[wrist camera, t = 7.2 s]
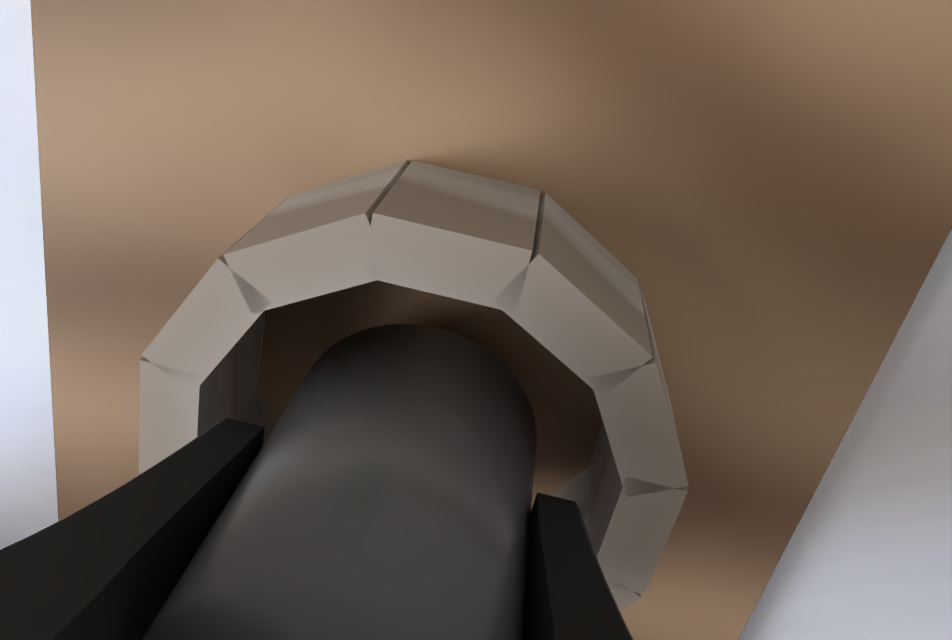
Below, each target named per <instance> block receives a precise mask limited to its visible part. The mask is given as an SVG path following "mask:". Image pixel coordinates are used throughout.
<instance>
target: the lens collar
mask: <svg viewBox="0 0 952 640" xmlns="http://www.w3.org/2000/svg"><path fill="white" fill-rule="evenodd" d="M31 18H32V36H33V55H34V73H35V92H36V110H37V129H38V148H39V166H40V185H41V203H42V222H43V240H44V259H45V277H46V296H47V315H48V333H49V352H50V370H51V389H52V407H53V426H54V444H55V463H56V482H57V500H58V519H59V521H61V520H62V519H64V518H66V517H68V516H70V515H71V514H73V513H75V512H77V511H78V510H80V509H82V508H84V507H86V506H87V505H89V504H91V503H93V502H94V501H96V500H98V499H100V498H102V497H103V496H105V495H107V494H109V493H110V492H112V491H114V490H115V489H117V488H119V487H120V486H122V485H124V484H125V483H127V482H128V481H130V480H132V479H133V478H135V477H136V476H138V475H140V474H141V473H143V472H144V471H146V470H148V469H149V468H151V467H152V466H154V465H156V464H157V463H159V462H160V461H162V460H163V459H165V458H166V457H168V456H169V455H171V454H173V453H174V452H176V451H177V450H179V449H180V448H182V447H183V446H185V445H186V444H188V443H189V442H191V441H192V440H194V439H195V438H197V437H198V436H200V435H201V434H203V433H204V432H206V431H207V430H209V429H210V428H212V427H213V426H215V425H216V424H218V423H219V422H221V421H223V420H225V419H226V418H229V419H234V420H238V421H242V422H246V423H250V424H254V425H259V426H263V427H265V429H264V439H263V444H264V443H265V441H266V440H267V438H268V436H269V435H270V433H271V431H272V430H273V428H274V427H275V425H276V423H277V422H278V420H279V419H280V417H281V415H282V414H283V412H284V411H285V409H286V407H287V406H288V404H289V403H290V401H291V399H292V398H293V396H294V395H295V393H296V391H297V390H298V388H299V387H300V385H301V383H302V382H303V380H304V379H305V377H306V375H307V374H308V372H309V370H310V369H311V367H312V366H313V365H314V364H315V362H316V361H317V360H318V359H319V357H320V356H321V355H322V354H324V353H325V352H326V351H327V350H328V349H329V348H330V347H332V346H333V345H334V344H336V343H337V342H339V341H340V340H342V339H344V338H346V337H348V336H350V335H352V334H354V333H356V332H359V331H362V330H365V329H368V328H372V327H377V326H382V325H388V324H420V325H426V326H432V327H437V328H440V329H444V330H447V331H450V332H453V333H456V334H458V335H461V336H463V337H465V338H468V339H470V340H471V341H473V342H475V343H477V344H478V345H480V346H482V347H483V348H485V349H486V350H487V351H489V352H490V353H491V354H493V355H494V356H495V357H497V358H498V359H499V360H500V361H501V362H502V363H503V364H504V365H505V366H506V367H507V368H508V369H509V370H510V371H511V373H512V374H513V375H514V376H515V378H516V379H517V380H518V382H519V383H520V385H521V387H522V388H523V390H524V391H525V393H526V395H527V398H528V400H529V402H530V405H531V407H532V411H533V414H534V418H535V424H536V433H537V437H536V455H535V468H534V482H533V496H532V507H533V504H534V501H535V497H536V494H537V492H538V493H542V494H546V495H550V496H554V497H558V498H563V499H567V500H571V501H575V502H576V504H577V505H578V507H579V508H580V511H581V514H582V518H583V521H584V524H585V527H586V530H587V532H588V535H589V538H590V541H591V544H592V546H593V549H594V552H595V554H596V557H597V559H598V562H599V564H600V567H601V569H602V572H603V574H604V577H605V579H606V582H607V584H608V586H609V588H610V591H611V593H612V595H613V597H614V600H615V602H616V604H617V606H618V608H619V611H620V613H621V615H622V617H623V620H624V622H625V624H626V626H627V628H628V630H629V632H630V634H631V636H632V638H633V640H738V639H739V637H740V635H741V633H742V631H743V629H744V627H745V625H746V623H747V621H748V619H749V618H750V616H751V614H752V612H753V610H754V608H755V606H756V604H757V602H758V600H759V598H760V596H761V594H762V592H763V591H764V589H765V587H766V585H767V583H768V581H769V579H770V577H771V575H772V573H773V571H774V569H775V567H776V565H777V564H778V562H779V560H780V558H781V556H782V554H783V552H784V550H785V548H786V546H787V544H788V542H789V540H790V538H791V537H792V535H793V533H794V531H795V529H796V527H797V525H798V523H799V521H800V519H801V517H802V515H803V513H804V511H805V510H806V508H807V506H808V504H809V502H810V500H811V498H812V496H813V494H814V492H815V490H816V488H817V486H818V484H819V483H820V481H821V479H822V477H823V475H824V473H825V471H826V469H827V467H828V465H829V463H830V461H831V459H832V457H833V456H834V454H835V452H836V450H837V448H838V446H839V444H840V442H841V440H842V438H843V436H844V434H845V432H846V431H847V429H848V427H849V425H850V423H851V421H852V419H853V417H854V415H855V413H856V411H857V409H858V407H859V405H860V404H861V402H862V400H863V398H864V396H865V394H866V392H867V390H868V388H869V386H870V384H871V382H872V380H873V378H874V377H875V375H876V373H877V371H878V369H879V367H880V365H881V363H882V361H883V359H884V357H885V355H886V353H887V351H888V350H889V348H890V346H891V344H892V342H893V340H894V338H895V336H896V334H897V332H898V330H899V328H900V326H901V324H902V323H903V321H904V319H905V317H906V315H907V313H908V311H909V309H910V307H911V305H912V303H913V301H914V299H915V297H916V296H917V294H918V292H919V290H920V288H921V286H922V284H923V282H924V280H925V278H926V276H927V274H928V272H929V270H930V269H931V267H932V265H933V263H934V261H935V259H936V257H937V255H938V253H939V251H940V249H941V247H942V245H943V243H944V242H945V240H946V238H947V236H948V234H949V232H950V230H951V228H952V0H31Z"/></svg>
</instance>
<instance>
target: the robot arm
mask: <svg viewBox="0 0 952 640" xmlns="http://www.w3.org/2000/svg"><path fill="white" fill-rule="evenodd" d="M264 429H265V427H263V426H259V425H254V424H250V423H246V422H242V421H238V420H234V419H229V418H226V419H225V420H223V421H221V422H219V423H218V424H216V425H215V426H213V427H212V428H210V429H209V430H207V431H206V432H204V433H203V434H201V435H200V436H198V437H197V438H195V439H194V440H192V441H191V442H189V443H188V444H186V445H185V446H183V447H182V448H180V449H179V450H177V451H176V452H174V453H173V454H171V455H169V456H168V457H166V458H165V459H163V460H162V461H160V462H159V463H157V464H156V465H154V466H152V467H151V468H149V469H148V470H146V471H144V472H143V473H141V474H140V475H138V476H136V477H135V478H133V479H132V480H130V481H128V482H127V483H125V484H124V485H122V486H120V487H119V488H117V489H115V490H114V491H112V492H110V493H109V494H107V495H105V496H103V497H102V498H100V499H98V500H96V501H94V502H93V503H91V504H89V505H87V506H86V507H84V508H82V509H80V510H78V511H77V512H75V513H73V514H71V515H70V516H68V517H66V518H64V519H62V520H61V521H59V522H57V523H55V524H53V525H51V526H49V527H47V528H45V529H43V530H41V531H39V532H37V533H35V534H33V535H31V536H29V537H27V538H25V539H23V540H21V541H19V542H16V543H14V544H12V545H10V546H8V547H6V548H3V549H1V550H0V640H142V639H143V637H144V635H145V634H146V632H147V631H148V629H149V627H150V626H151V624H152V623H153V621H154V619H155V618H156V616H157V614H158V613H159V611H160V610H161V608H162V606H163V605H164V603H165V602H166V600H167V598H168V597H169V595H170V594H171V592H172V590H173V589H174V587H175V586H176V584H177V582H178V581H179V579H180V578H181V576H182V574H183V573H184V571H185V570H186V568H187V566H188V565H189V563H190V562H191V560H192V558H193V557H194V555H195V553H196V552H197V550H198V549H199V547H200V545H201V544H202V542H203V541H204V539H205V537H206V536H207V534H208V533H209V531H210V529H211V528H212V526H213V525H214V523H215V521H216V520H217V518H218V517H219V515H220V513H221V512H222V510H223V509H224V507H225V505H226V504H227V502H228V501H229V499H230V497H231V496H232V494H233V492H234V491H235V489H236V488H237V486H238V484H239V483H240V481H241V480H242V478H243V476H244V475H245V473H246V472H247V470H248V468H249V467H250V465H251V464H252V462H253V460H254V459H255V457H256V456H257V454H258V452H259V451H260V449H261V448H262V446H263V439H264ZM522 640H633V638H632V636H631V634H630V632H629V630H628V628H627V626H626V624H625V622H624V620H623V617H622V615H621V613H620V611H619V608H618V606H617V604H616V602H615V600H614V597H613V595H612V593H611V591H610V588H609V586H608V584H607V582H606V579H605V577H604V574H603V572H602V569H601V567H600V564H599V562H598V559H597V557H596V554H595V552H594V549H593V546H592V544H591V541H590V538H589V535H588V532H587V530H586V527H585V524H584V521H583V518H582V514H581V511H580V508H579V507H578V505H577V504H576V502H575V501H571V500H567V499H563V498H558V497H554V496H550V495H546V494H542V493H538V492H537V494H536V497H535V501H534V504H533V507H532V510H531V518H530V532H529V545H528V559H527V575H526V591H525V606H524V620H523V633H522Z"/></svg>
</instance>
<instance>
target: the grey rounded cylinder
mask: <svg viewBox="0 0 952 640" xmlns="http://www.w3.org/2000/svg"><path fill="white" fill-rule="evenodd" d="M536 437H537V433H536V424H535V418H534V414H533V411H532V407H531V405H530V402H529V400H528V398H527V395H526V393H525V391H524V390H523V388H522V387H521V385H520V383H519V382H518V380H517V379H516V378H515V376H514V375H513V374H512V373H511V371H510V370H509V369H508V368H507V367H506V366H505V365H504V364H503V363H502V362H501V361H500V360H499V359H498V358H497V357H495V356H494V355H493V354H491V353H490V352H489V351H487V350H486V349H485V348H483V347H482V346H480V345H478V344H477V343H475V342H473V341H471V340H470V339H468V338H465V337H463V336H461V335H458V334H456V333H453V332H450V331H447V330H444V329H440V328H437V327H432V326H426V325H420V324H388V325H382V326H377V327H372V328H368V329H365V330H362V331H359V332H356V333H354V334H352V335H350V336H348V337H346V338H344V339H342V340H340V341H339V342H337V343H336V344H334V345H333V346H332V347H330V348H329V349H328V350H327V351H326V352H325V353H324V354H322V355H321V356H320V357H319V359H318V360H317V361H316V362H315V364H314V365H313V366H312V367H311V369H310V370H309V372H308V374H307V375H306V377H305V379H304V380H303V382H302V383H301V385H300V387H299V388H298V390H297V391H296V393H295V395H294V396H293V398H292V399H291V401H290V403H289V404H288V406H287V407H286V409H285V411H284V412H283V414H282V415H281V417H280V419H279V420H278V422H277V423H276V425H275V427H274V428H273V430H272V431H271V433H270V435H269V436H268V438H267V440H266V441H265V443H264V444H263V446H262V448H261V449H260V451H259V452H258V454H257V456H256V457H255V459H254V460H253V462H252V464H251V465H250V467H249V468H248V470H247V472H246V473H245V475H244V476H243V478H242V480H241V481H240V483H239V484H238V486H237V488H236V489H235V491H234V492H233V494H232V496H231V497H230V499H229V501H228V502H227V504H226V505H225V507H224V509H223V510H222V512H221V513H220V515H219V517H218V518H217V520H216V521H215V523H214V525H213V526H212V528H211V529H210V531H209V533H208V534H207V536H206V537H205V539H204V541H203V542H202V544H201V545H200V547H199V549H198V550H197V552H196V553H195V555H194V557H193V558H192V560H191V562H190V563H189V565H188V566H187V568H186V570H185V571H184V573H183V574H182V576H181V578H180V579H179V581H178V582H177V584H176V586H175V587H174V589H173V590H172V592H171V594H170V595H169V597H168V598H167V600H166V602H165V603H164V605H163V606H162V608H161V610H160V611H159V613H158V614H157V616H156V618H155V619H154V621H153V623H152V624H151V626H150V627H149V629H148V631H147V632H146V634H145V635H144V637H143V639H142V640H522V633H523V620H524V606H525V591H526V575H527V559H528V545H529V532H530V518H531V510H532V496H533V482H534V468H535V455H536Z"/></svg>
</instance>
